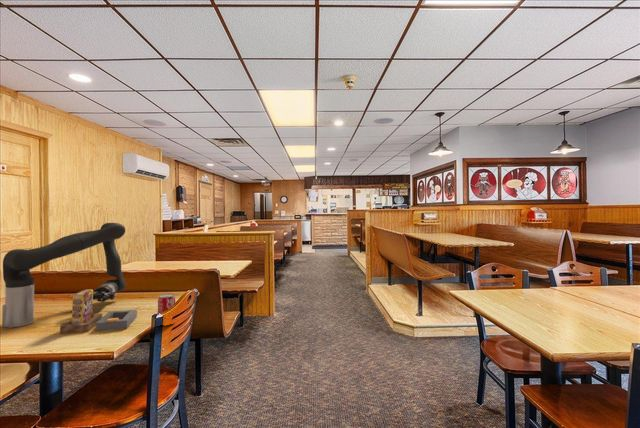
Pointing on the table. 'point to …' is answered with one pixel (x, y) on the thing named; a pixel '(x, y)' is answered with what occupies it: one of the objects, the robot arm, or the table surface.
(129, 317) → the dock
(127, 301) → the table surface
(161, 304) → the soda can
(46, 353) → the table surface
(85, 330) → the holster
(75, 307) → the candy box
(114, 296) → the robot arm
